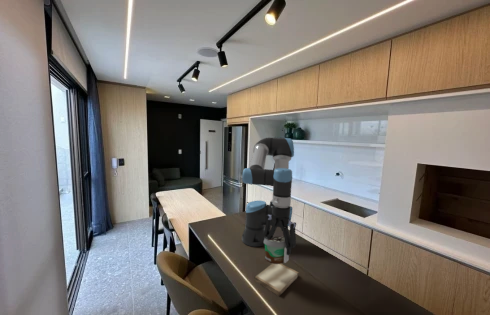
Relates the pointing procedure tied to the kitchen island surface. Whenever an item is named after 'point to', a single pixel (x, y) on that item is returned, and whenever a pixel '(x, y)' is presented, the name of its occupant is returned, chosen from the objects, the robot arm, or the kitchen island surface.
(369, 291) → the kitchen island surface
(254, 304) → the kitchen island surface
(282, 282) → the board
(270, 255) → the food container
